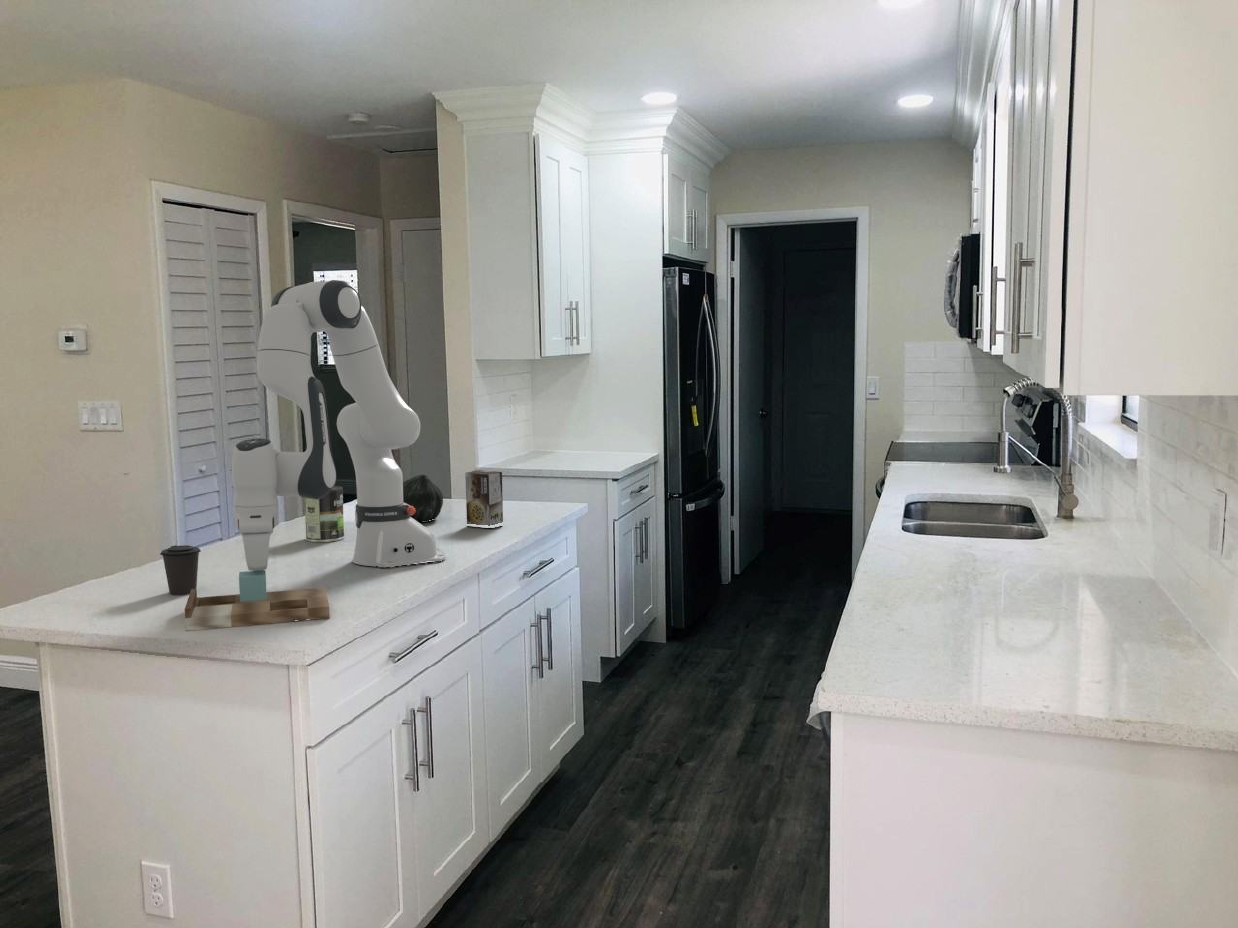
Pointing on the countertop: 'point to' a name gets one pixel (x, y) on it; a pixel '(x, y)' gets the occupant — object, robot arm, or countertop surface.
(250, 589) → the teal block
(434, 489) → the squash
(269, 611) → the board
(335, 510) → the coffee can
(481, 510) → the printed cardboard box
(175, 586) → the coffee cup
